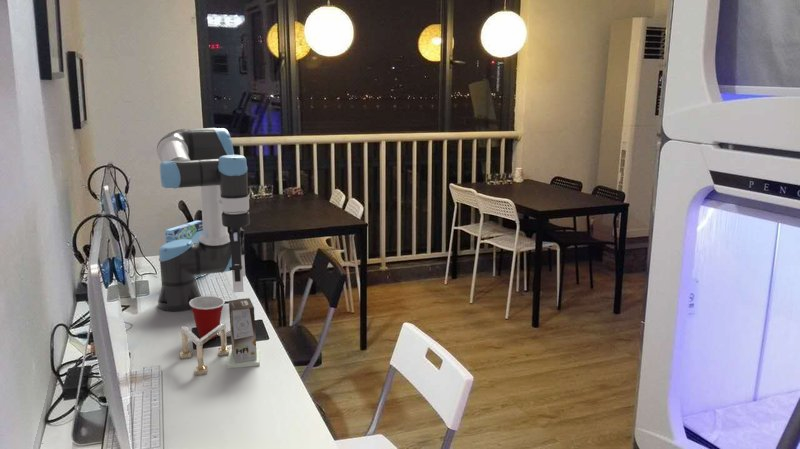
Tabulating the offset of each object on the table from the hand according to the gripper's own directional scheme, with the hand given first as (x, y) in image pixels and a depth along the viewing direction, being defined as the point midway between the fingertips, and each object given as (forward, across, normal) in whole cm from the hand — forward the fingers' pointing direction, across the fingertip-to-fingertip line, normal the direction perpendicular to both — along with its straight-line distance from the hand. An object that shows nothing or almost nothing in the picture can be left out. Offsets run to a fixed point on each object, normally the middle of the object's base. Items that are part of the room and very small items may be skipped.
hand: (239, 283), depth 182 cm
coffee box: (+22, 0, 0) cm, 22 cm away
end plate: (+23, +1, 0) cm, 23 cm away
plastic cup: (+24, -19, -11) cm, 33 cm away
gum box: (+24, -82, -24) cm, 89 cm away
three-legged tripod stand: (+23, 0, -11) cm, 26 cm away
